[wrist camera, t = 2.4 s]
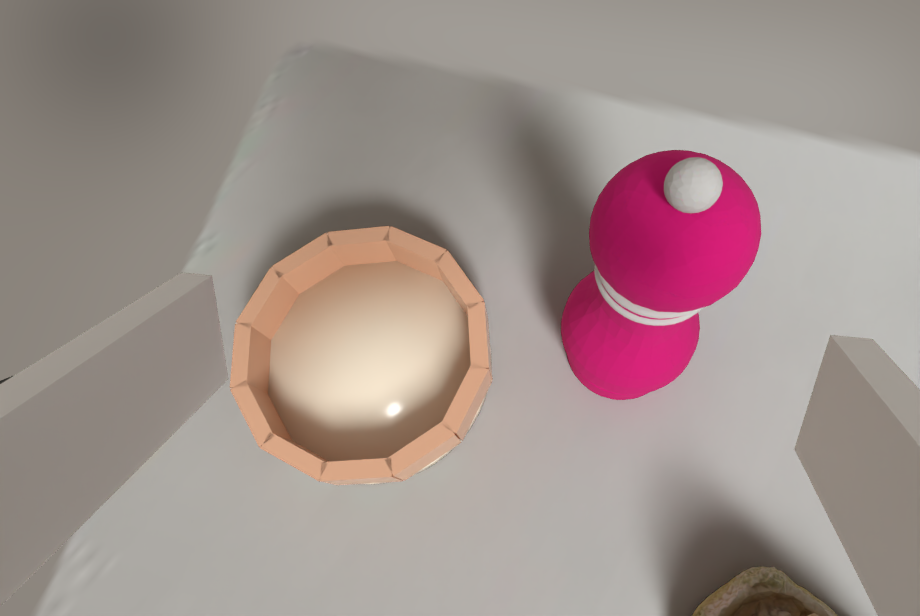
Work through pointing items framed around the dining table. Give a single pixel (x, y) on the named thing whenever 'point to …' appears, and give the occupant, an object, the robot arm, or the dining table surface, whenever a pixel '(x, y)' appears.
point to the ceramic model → (762, 597)
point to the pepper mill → (657, 269)
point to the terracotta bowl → (362, 357)
